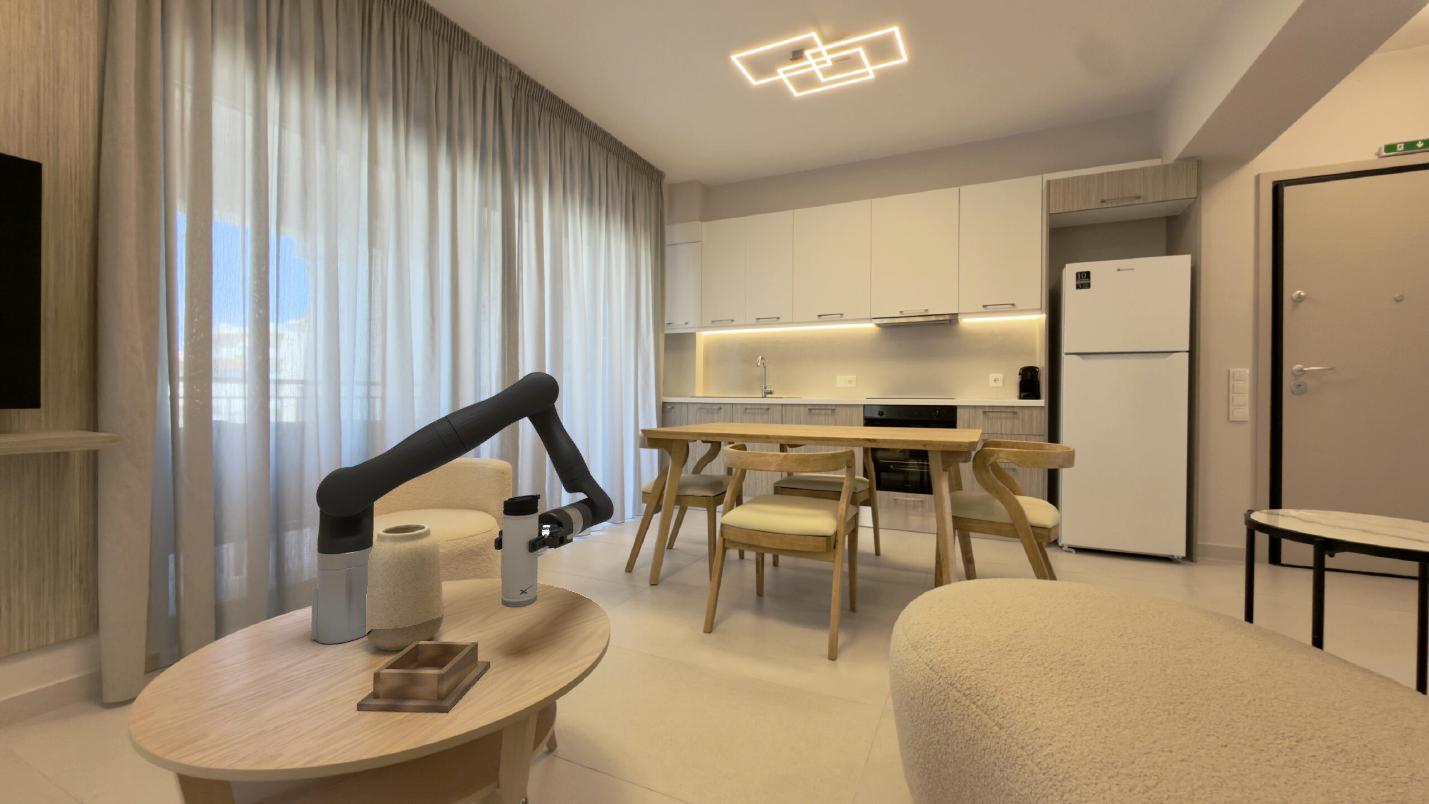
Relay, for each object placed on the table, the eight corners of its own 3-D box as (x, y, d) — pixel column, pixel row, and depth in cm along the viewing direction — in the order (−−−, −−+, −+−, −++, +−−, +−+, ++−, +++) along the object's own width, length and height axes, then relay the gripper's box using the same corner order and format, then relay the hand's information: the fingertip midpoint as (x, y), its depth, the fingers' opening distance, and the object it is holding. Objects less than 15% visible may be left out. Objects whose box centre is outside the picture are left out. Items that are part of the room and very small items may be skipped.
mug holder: (356, 710, 81) (357, 676, 81) (412, 665, 95) (412, 637, 95) (448, 712, 80) (448, 678, 81) (490, 667, 94) (490, 638, 95)
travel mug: (531, 608, 97) (533, 498, 97) (495, 607, 97) (497, 497, 97) (543, 596, 103) (545, 492, 103) (509, 595, 104) (511, 491, 104)
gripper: (527, 506, 116) (478, 522, 100) (590, 510, 113) (549, 527, 97) (527, 541, 116) (478, 563, 100) (589, 545, 113) (549, 569, 97)
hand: (513, 545), depth 98 cm, fingers closed on travel mug, 6 cm apart
